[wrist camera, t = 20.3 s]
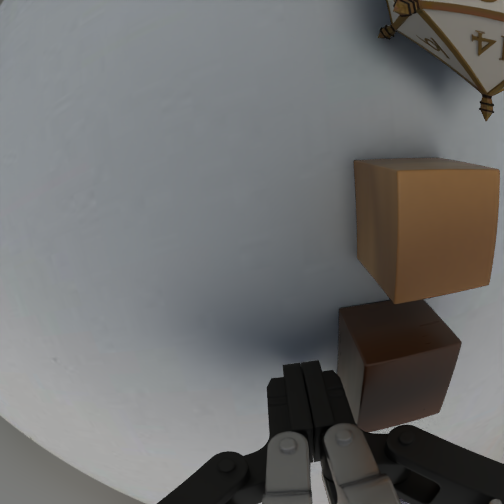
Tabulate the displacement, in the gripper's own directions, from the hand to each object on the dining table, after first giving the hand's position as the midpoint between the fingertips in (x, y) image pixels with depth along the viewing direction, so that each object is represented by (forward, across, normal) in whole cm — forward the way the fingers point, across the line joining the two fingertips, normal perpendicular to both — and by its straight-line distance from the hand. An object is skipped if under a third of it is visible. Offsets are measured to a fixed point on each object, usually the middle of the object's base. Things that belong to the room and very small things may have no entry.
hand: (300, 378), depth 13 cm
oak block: (+2, -5, -6) cm, 8 cm away
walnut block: (+2, -4, 0) cm, 4 cm away
